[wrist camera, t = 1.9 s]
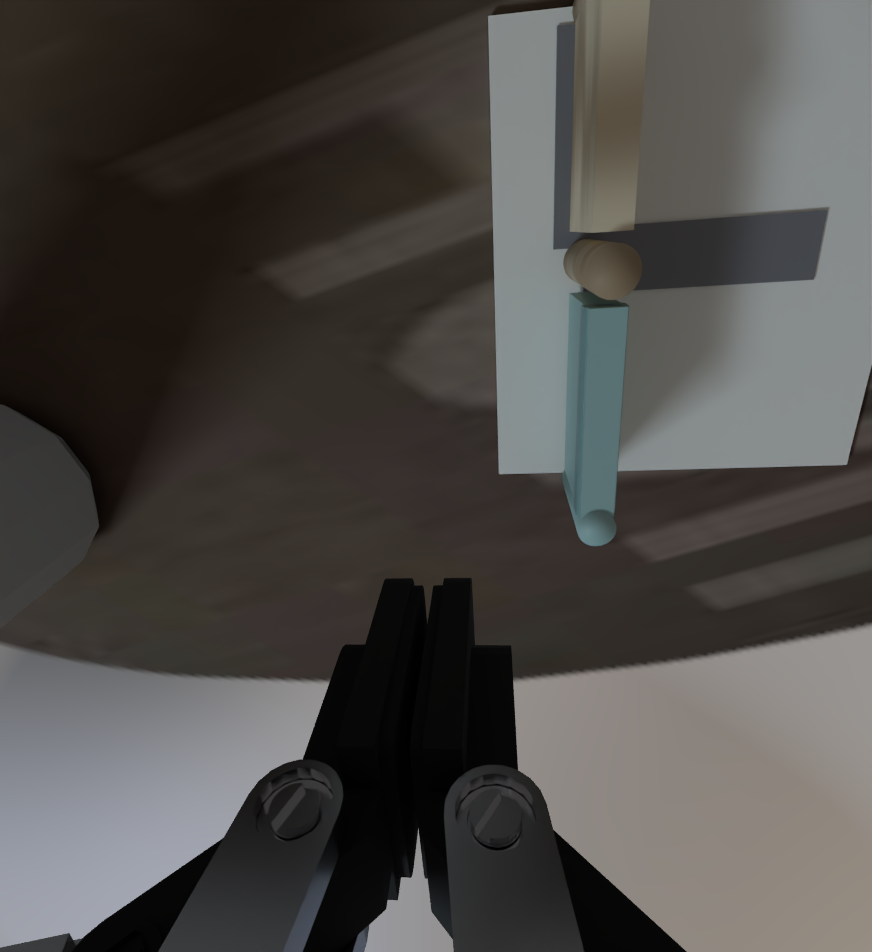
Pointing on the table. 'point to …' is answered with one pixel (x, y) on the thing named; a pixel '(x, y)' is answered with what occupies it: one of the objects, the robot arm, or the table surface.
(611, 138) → the fence fixed
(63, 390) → the table surface
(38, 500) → the jar
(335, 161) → the table surface
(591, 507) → the fence gate
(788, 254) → the card
